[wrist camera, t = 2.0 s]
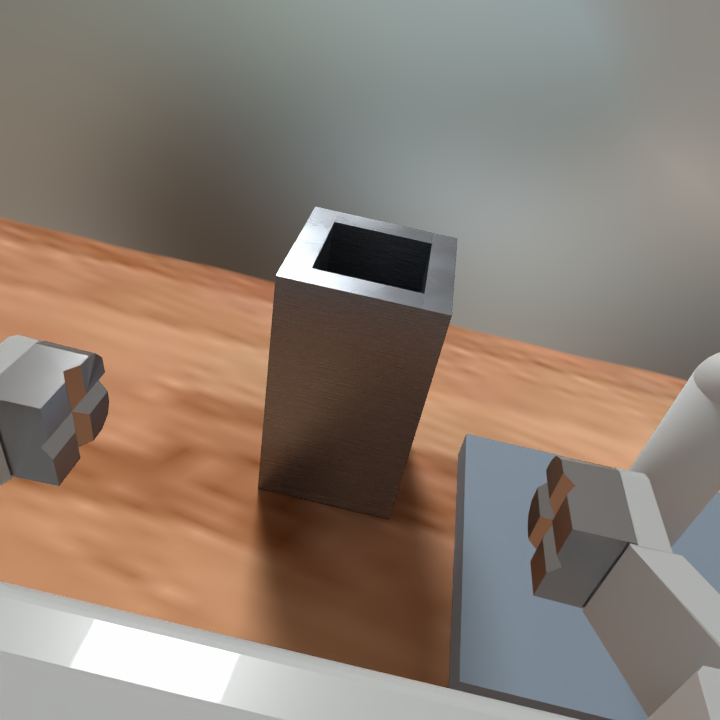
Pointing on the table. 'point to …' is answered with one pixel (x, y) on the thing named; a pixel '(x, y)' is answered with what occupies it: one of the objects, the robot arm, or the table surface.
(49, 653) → the robot arm
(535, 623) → the shaft base
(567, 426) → the table surface
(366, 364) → the steel collar
